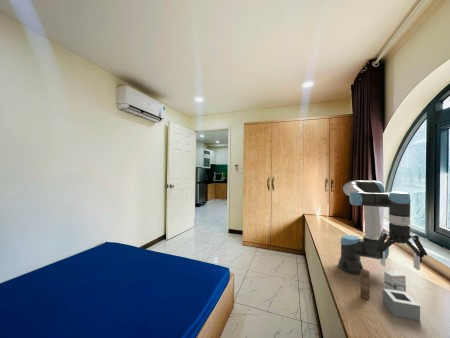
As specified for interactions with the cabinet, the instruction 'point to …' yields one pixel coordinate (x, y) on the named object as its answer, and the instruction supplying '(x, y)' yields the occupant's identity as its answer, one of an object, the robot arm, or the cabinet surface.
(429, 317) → the cabinet surface
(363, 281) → the walnut dowel
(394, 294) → the socket block
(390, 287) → the ink box
